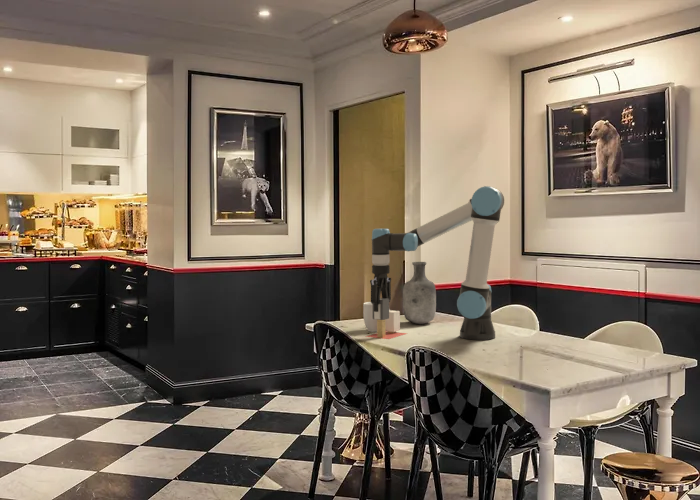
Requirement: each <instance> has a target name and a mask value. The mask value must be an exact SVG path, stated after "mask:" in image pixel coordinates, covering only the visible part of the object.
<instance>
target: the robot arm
mask: <svg viewBox="0 0 700 500" xmlns="http://www.w3.org/2000/svg"><path fill="white" fill-rule="evenodd" d="M504 205H505V197H504V194H503V193H502V192H501V190H500V189H498V188H497V187H493V186H488V185H487V186H485V185H483V186H481V187H479V188H478V189H477V190H475V192H474V193H473V194H472V197H471V198H470V199H469V200H468V202H467V203H465V204H463V205H462V206H459V207H457V208H454V209H453V210H451V211H449V212H447V213H445V214H442V215H440V216H438V217H436V218H435V219H432V220H431V221H427V222H426V223H425V224H423V225H420V226H418V227H417V228H415V229H412V230H410V231H408V232H402V233H400V232H398V233H397V232H395V233H392V232H390V229H389V228H374V229H372V232H371V233H372V234H371V263H372V266H371V273H372V274H373V275H374V276H373V279H370V280H369V284H370V302H371V303H372V304H374V319H380V304H379V301H380V298H387V299H389V303H390V302H391V300H392V299H391V298H392V294H391V293H392V291H391V288H392V286H391V285H392V284H391V283H392V277H388V274H390V270H391V269H390V262H391V261H390V252H392V251H393V252H394V251H396V252H416V251H417V250H418V247H420V246H422V245H424V244H425V243H428V242H430V241H432V240H434V239H436V238H439V237H441V236H443V235H445V234H447V233H448V232H450V231H454V230H455V229H457V228H459V227H462V226H464V225H466V224H468V223H470V222H473V225H472V232H471V238H470V239H471V240H470V246H469V254H468V260H467V261H468V262H467V266H466V267H467V268H466V275H465V280H463V281H462V282H461V285H460V290H459V296H458V298H457V299H456V308H457V310H458V312H459V314H461V315H462V316H463V321H462V324H461V327H460V330H459V338H461V339H464V340H465V339H466V340H474V341H475V340H476V341H477V340H478V341H480V340H481V341H484V340H485V341H486V340H493V339H495V338H496V331H495V327H494V325H493V322H492V321H493V320H492V292H493V291H492V287H491V285H490V284H489V283H488V276H489V270H490V269H489V268H490V261H491V255H492V253H491V252H492V247H493V241H494V234H495V227H496V225H497V224H498V223H500V219H501V214H502V212H501V211H502V210H503V208H504Z"/></svg>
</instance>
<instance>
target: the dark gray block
mask: <svg viewBox="0 0 700 500" xmlns="http://www.w3.org/2000/svg"><path fill="white" fill-rule="evenodd" d="M379 304H380V319H378V320H385V319H389V309H390V302H389V299H387V298H382V297H380V301H379ZM373 319H374V304H373Z"/></svg>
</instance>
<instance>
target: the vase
mask: <svg viewBox="0 0 700 500" xmlns="http://www.w3.org/2000/svg"><path fill="white" fill-rule="evenodd" d="M411 265H412V266H413V276H412V278H411V279H410V280H408V281H406V282H405V283H404V285H403V289H402V307H403V315H404V318H405V320H407V322H410V323H412V324H415V325H423V324H428V323H430V322H431V321H433V320H434V319H435V317H436V313H437V312H436V310H437V291H436V290H437V289H436V284H435V283H434V282H432V281H431V280H429V279H428V278H427V276H426V265H427V262H426V261H413V262H412V263H411Z"/></svg>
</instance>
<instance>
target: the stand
mask: <svg viewBox="0 0 700 500" xmlns="http://www.w3.org/2000/svg"><path fill="white" fill-rule="evenodd" d="M400 316H401V312H400V310H392V309H390V310H389V319H385V327H386V337H384V338H381V339H384V340H390V339H394V338H397V337H401V336H404V335H407V334H408V333H407V332H399V331H400V330H401V317H400ZM365 338H373V339H374V338H376V339H378V338H377V332H375V333H372V334H370V335H366V336H365Z"/></svg>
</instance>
